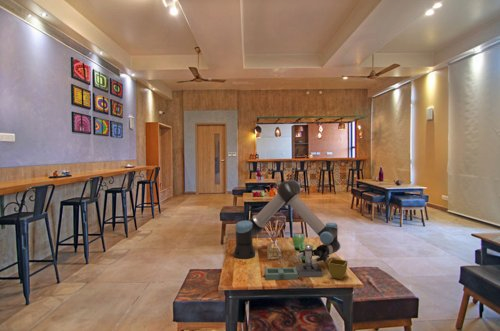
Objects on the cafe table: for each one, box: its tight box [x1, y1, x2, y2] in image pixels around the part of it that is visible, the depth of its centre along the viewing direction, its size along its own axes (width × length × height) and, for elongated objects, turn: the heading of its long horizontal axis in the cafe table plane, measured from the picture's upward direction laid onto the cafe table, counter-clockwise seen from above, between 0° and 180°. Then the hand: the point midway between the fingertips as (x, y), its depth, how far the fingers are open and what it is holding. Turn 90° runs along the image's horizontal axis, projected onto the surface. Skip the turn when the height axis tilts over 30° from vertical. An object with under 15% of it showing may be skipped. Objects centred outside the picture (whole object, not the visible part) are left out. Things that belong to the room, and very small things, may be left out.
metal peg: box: [304, 244, 313, 270], centre depth 177 cm, size 4×4×16 cm
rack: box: [264, 266, 299, 281], centre depth 173 cm, size 10×18×3 cm, turn 91°
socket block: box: [295, 263, 323, 278], centre depth 177 cm, size 13×13×3 cm
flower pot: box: [327, 258, 348, 280], centre depth 169 cm, size 9×9×9 cm
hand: (304, 259), depth 174 cm, fingers open, 10 cm apart
